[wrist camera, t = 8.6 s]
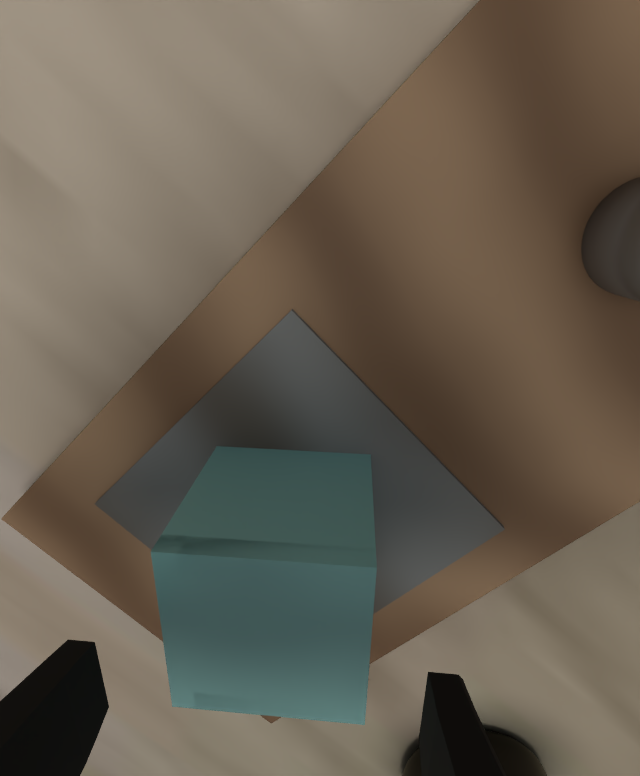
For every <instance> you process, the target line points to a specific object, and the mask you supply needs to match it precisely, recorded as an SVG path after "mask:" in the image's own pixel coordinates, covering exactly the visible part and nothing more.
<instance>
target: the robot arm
mask: <svg viewBox="0 0 640 776" xmlns="http://www.w3.org/2000/svg"><path fill="white" fill-rule="evenodd" d="M108 708H109V705H108V700H107V696H106V691H105V687H104V682H103V678H102V673H101V669H100V664H99V660H98V655H97V650H96V646H95V642H88V641H77V640H67V641H66V642H65V643H64V644H63V645H62V646H61V647H59V648H58V649H57V650H56V651H55V652H54V653H53V654H52V655H51V656H49V657H48V658H47V659H46V660H45V661H44V662H43V663H42V664H41V665H40V666H38V667H37V668H36V669H35V670H34V671H33V672H32V673H31V674H30V675H29V676H27V677H26V678H25V679H24V680H23V681H22V682H21V683H20V684H19V685H18V686H17V687H15V688H14V689H13V690H12V691H11V692H10V693H9V694H8V695H7V696H6V697H4V698H3V699H2V700H1V701H0V776H80V774H81V772H82V770H83V768H84V766H85V764H86V762H87V760H88V757H89V755H90V753H91V750H92V748H93V745H94V743H95V741H96V738H97V736H98V733H99V731H100V728H101V725H102V723H103V720H104V718H105V715H106V713H107V710H108ZM419 744H420V758H421V772H422V776H507V775H506V773H505V771H504V769H503V767H502V765H501V763H500V761H499V759H498V757H497V755H496V753H495V751H494V749H493V747H492V745H491V743H490V741H489V738H488V736H487V734H486V732H485V730H484V728H483V726H482V723H481V721H480V719H479V717H478V714H477V712H476V710H475V708H474V705H473V703H472V701H471V698H470V696H469V693H468V691H467V689H466V686H465V683H464V681H463V679H462V678H461V677H460V676H459V675H456V674H445V673H434V672H428V677H427V684H426V691H425V698H424V706H423V713H422V720H421V727H420V734H419Z"/></svg>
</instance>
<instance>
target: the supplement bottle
mask: <svg viewBox="0 0 640 776" xmlns="http://www.w3.org/2000/svg"><path fill="white" fill-rule="evenodd" d="M485 732H486V734H487V736H488V738H489V741H490V743H491V745H492V747H493V749H494V751H495V753H496V755H497V757H498V759H499V761H500V763H501V765H502V767H503V769H504V771H505V773H506V775H507V776H547V775H546V772H545V770H544V768H543V766H542V764H541V763H540V761H539V760H538V758H537V757H536V756H535V755H534V754H533V753H532V752H531V751H530V750H529V749H528V748H527V747H526V746H524V745H523V744H522V743H520V742H519V741H517V740H515V739H513V738H511V737H509V736H507V735H504V734H501V733H497V732H493V731H487V730H485ZM402 776H422V772H421V758H420V747H419V748H418V749H417V750H416V751H415V752H414V753H413V754H412V756H411V757H410V758H409V760H408V762H407V764H406V766H405V768H404V771H403V775H402Z"/></svg>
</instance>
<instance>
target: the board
mask: <svg viewBox="0 0 640 776" xmlns="http://www.w3.org/2000/svg"><path fill="white" fill-rule="evenodd" d="M217 446H223V447H242V448H260V449H279V450H297V451H316V452H334V453H352V454H371V469H372V487H373V506H374V524H375V543H376V562H377V572H376V585H375V598H374V611H373V623H372V636H371V649H370V662H369V664H371V663H372V662H374V661H376V660H377V659H379V658H381V657H382V656H384V655H386V654H387V653H389V652H391V651H392V650H394V649H396V648H397V647H399V646H400V645H402V644H404V643H405V642H407V641H409V640H410V639H412V638H414V637H415V636H417V635H419V634H420V633H422V632H424V631H425V630H427V629H429V628H430V627H432V626H434V625H435V624H437V623H439V622H440V621H442V620H444V619H445V618H447V617H449V616H450V615H452V614H454V613H455V612H457V611H459V610H460V609H462V608H464V607H465V606H467V605H469V604H470V603H472V602H474V601H475V600H477V599H479V598H480V597H482V596H483V595H485V594H487V593H488V592H490V591H492V590H493V589H495V588H497V587H498V586H500V585H502V584H503V583H505V582H507V581H508V580H510V579H512V578H513V577H515V576H517V575H518V574H520V573H522V572H523V571H525V570H527V569H528V568H530V567H532V566H533V565H535V564H537V563H538V562H540V561H542V560H543V559H545V558H547V557H548V556H550V555H552V554H553V553H555V552H557V551H558V550H560V549H562V548H563V547H565V546H566V545H568V544H570V543H571V542H573V541H575V540H576V539H578V538H580V537H581V536H583V535H585V534H586V533H588V532H590V531H591V530H593V529H595V528H596V527H598V526H600V525H601V524H603V523H605V522H606V521H608V520H610V519H611V518H613V517H615V516H616V515H618V514H620V513H621V512H623V511H625V510H626V509H628V508H630V507H631V506H633V505H635V504H636V503H638V502H640V0H480V1H479V2H478V3H477V4H476V5H475V6H474V7H473V8H472V9H471V10H470V12H469V13H468V14H467V15H466V16H465V17H464V18H463V19H462V20H461V21H460V22H459V23H458V25H457V26H456V27H455V28H454V29H453V30H452V31H451V32H450V33H449V34H448V35H447V36H446V38H445V39H444V40H443V41H442V42H441V43H440V44H439V45H438V46H437V47H436V48H435V49H434V51H433V52H432V53H431V54H430V55H429V56H428V57H427V58H426V59H425V60H424V61H423V62H422V64H421V65H420V66H419V67H418V68H417V69H416V70H415V71H414V72H413V73H412V74H411V75H410V77H409V78H408V79H407V80H406V81H405V82H404V83H403V84H402V85H401V86H400V87H399V88H398V90H397V91H396V92H395V93H394V94H393V95H392V96H391V97H390V98H389V99H388V100H387V101H386V103H385V104H384V105H383V106H382V107H381V108H380V109H379V110H378V111H377V112H376V113H375V114H374V116H373V117H372V118H371V119H370V120H369V121H368V122H367V123H366V124H365V125H364V126H363V127H362V129H361V130H360V131H359V132H358V133H357V134H356V135H355V136H354V137H353V138H352V139H351V140H350V142H349V143H348V144H347V145H346V146H345V147H344V148H343V149H342V150H341V151H340V152H339V153H338V155H337V156H336V157H335V158H334V159H333V160H332V161H331V162H330V163H329V164H328V165H327V166H326V168H325V169H324V170H323V171H322V172H321V173H320V174H319V175H318V176H317V177H316V178H315V179H314V181H313V182H312V183H311V184H310V185H309V186H308V187H307V188H306V189H305V190H304V191H303V192H302V194H301V195H300V196H299V197H298V198H297V199H296V200H295V201H294V202H293V203H292V204H291V205H290V207H289V208H288V209H287V210H286V211H285V212H284V213H283V214H282V215H281V216H280V217H279V218H278V220H277V221H276V222H275V223H274V224H273V225H272V226H271V227H270V228H269V229H268V230H267V231H266V233H265V234H264V235H263V236H262V237H261V238H260V239H259V240H258V241H257V242H256V243H255V244H254V246H253V247H252V248H251V249H250V250H249V251H248V252H247V253H246V254H245V255H244V256H243V257H242V259H241V260H240V261H239V262H238V263H237V264H236V265H235V266H234V267H233V268H232V269H231V270H230V272H229V273H228V274H227V275H226V276H225V277H224V278H223V279H222V280H221V281H220V282H219V283H218V285H217V286H216V287H215V288H214V289H213V290H212V291H211V292H210V293H209V294H208V295H207V296H206V298H205V299H204V300H203V301H202V302H201V303H200V304H199V305H198V306H197V307H196V308H195V309H194V311H193V312H192V313H191V314H190V315H189V316H188V317H187V318H186V319H185V320H184V321H183V322H182V324H181V325H180V326H179V327H178V328H177V329H176V330H175V331H174V332H173V333H172V334H171V335H170V337H169V338H168V339H167V340H166V341H165V342H164V343H163V344H162V345H161V346H160V347H159V348H158V350H157V351H156V352H155V353H154V354H153V355H152V356H151V357H150V358H149V359H148V360H147V361H146V363H145V364H144V365H143V366H142V367H141V368H140V369H139V370H138V371H137V372H136V373H135V374H134V376H133V377H132V378H131V379H130V380H129V381H128V382H127V383H126V384H125V385H124V386H123V387H122V389H121V390H120V391H119V392H118V393H117V394H116V395H115V396H114V397H113V398H112V399H111V400H110V402H109V403H108V404H107V405H106V406H105V407H104V408H103V409H102V410H101V411H100V412H99V413H98V415H97V416H96V417H95V418H94V419H93V420H92V421H91V422H90V423H89V424H88V425H87V426H86V428H85V429H84V430H83V431H82V432H81V433H80V434H79V435H78V436H77V437H76V438H75V439H74V441H73V442H72V443H71V444H70V445H69V446H68V447H67V448H66V449H65V450H64V451H63V452H62V454H61V455H60V456H59V457H58V458H57V459H56V460H55V461H54V462H53V463H52V464H51V465H50V467H49V468H48V469H47V470H46V471H45V472H44V473H43V474H42V475H41V476H40V477H39V478H38V480H37V481H36V482H35V483H34V484H33V485H32V486H31V487H30V488H29V489H28V490H27V491H26V493H25V494H24V495H23V496H22V497H21V498H20V499H19V500H18V501H17V502H16V503H15V504H14V506H13V507H12V508H11V509H10V510H9V511H8V512H7V513H6V514H5V515H4V516H3V517H2V520H3V521H5V522H6V523H7V524H9V525H10V526H11V527H13V528H14V529H15V530H17V531H18V532H19V533H21V534H22V535H23V536H25V537H26V538H27V539H28V540H30V541H31V542H32V543H34V544H35V545H36V546H38V547H39V548H40V549H42V550H43V551H44V552H46V553H47V554H48V555H50V556H51V557H52V558H54V559H55V560H56V561H58V562H59V563H60V564H61V565H63V566H64V567H65V568H67V569H68V570H69V571H71V572H72V573H73V574H75V575H76V576H77V577H79V578H80V579H81V580H83V581H84V582H85V583H87V584H88V585H89V586H90V587H92V588H93V589H94V590H96V591H97V592H98V593H100V594H101V595H102V596H104V597H105V598H106V599H108V600H109V601H110V602H112V603H113V604H114V605H116V606H117V607H118V608H119V609H121V610H122V611H123V612H125V613H126V614H127V615H129V616H130V617H131V618H133V619H134V620H135V621H137V622H138V623H139V624H141V625H142V626H143V627H145V628H146V629H147V630H149V631H150V632H151V633H152V634H154V635H155V636H156V637H158V638H159V639H160V640H162V641H163V636H162V629H161V622H160V615H159V608H158V601H157V594H156V587H155V580H154V572H153V565H152V558H151V550H152V549H153V547H154V545H155V544H156V542H157V541H158V539H159V537H160V536H161V534H162V533H163V531H164V530H165V528H166V526H167V525H168V523H169V522H170V520H171V518H172V517H173V515H174V514H175V512H176V510H177V509H178V507H179V506H180V504H181V502H182V501H183V499H184V498H185V496H186V494H187V493H188V491H189V490H190V488H191V486H192V485H193V483H194V482H195V480H196V478H197V477H198V475H199V474H200V472H201V470H202V469H203V467H204V466H205V464H206V462H207V461H208V459H209V458H210V456H211V455H212V453H213V451H214V450H215V448H216V447H217ZM261 716H262V717H263V718H265V719H266V720H267V721H269V722H270V723H273V722H274V721H276V720H278V719H279V718H281V717H277V716H267V715H261Z"/></svg>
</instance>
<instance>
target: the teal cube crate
mask: <svg viewBox="0 0 640 776" xmlns="http://www.w3.org/2000/svg"><path fill="white" fill-rule="evenodd" d="M151 558H152V565H153V572H154V580H155V587H156V594H157V601H158V608H159V615H160V622H161V629H162V636H163V643H164V650H165V657H166V664H167V671H168V678H169V685H170V692H171V700H172V707H183V708H193V709H204V710H214V711H225V712H235V713H246V714H256V715H267V716H277V717H288V718H298V719H309V720H319V721H330V722H340V723H351V724H361V725H365V713H366V700H367V688H368V675H369V662H370V649H371V636H372V623H373V611H374V598H375V585H376V572H377V562H376V543H375V524H374V506H373V487H372V469H371V454H352V453H334V452H316V451H297V450H279V449H260V448H242V447H223V446H217V447H216V448H215V450H214V451H213V453H212V455H211V456H210V458H209V459H208V461H207V462H206V464H205V466H204V467H203V469H202V470H201V472H200V474H199V475H198V477H197V478H196V480H195V482H194V483H193V485H192V486H191V488H190V490H189V491H188V493H187V494H186V496H185V498H184V499H183V501H182V502H181V504H180V506H179V507H178V509H177V510H176V512H175V514H174V515H173V517H172V518H171V520H170V522H169V523H168V525H167V526H166V528H165V530H164V531H163V533H162V534H161V536H160V537H159V539H158V541H157V542H156V544H155V545H154V547H153V549H152V550H151Z"/></svg>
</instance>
